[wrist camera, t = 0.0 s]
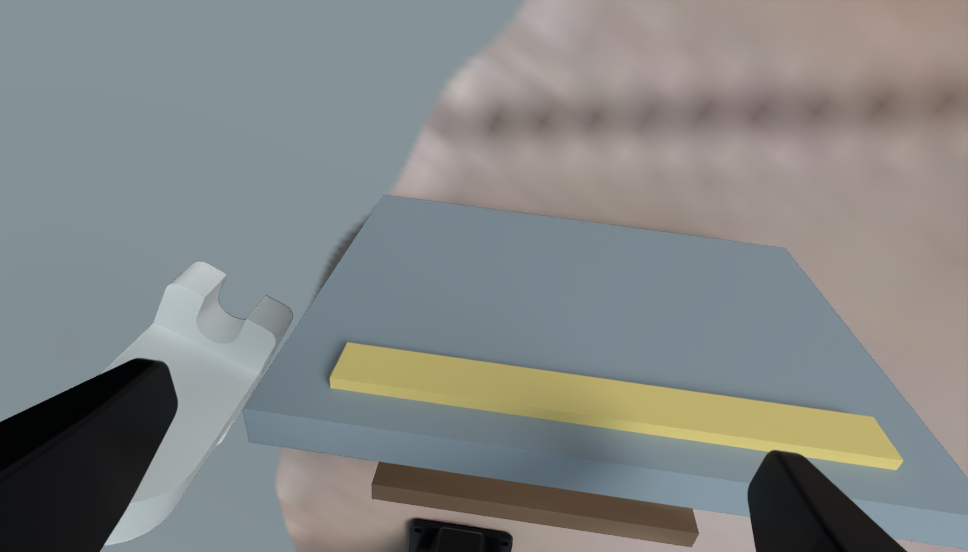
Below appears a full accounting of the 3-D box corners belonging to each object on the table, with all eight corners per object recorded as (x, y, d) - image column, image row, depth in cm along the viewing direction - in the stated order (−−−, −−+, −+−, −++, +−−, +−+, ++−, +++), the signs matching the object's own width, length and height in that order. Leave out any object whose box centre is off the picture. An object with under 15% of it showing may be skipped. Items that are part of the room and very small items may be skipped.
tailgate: (774, 270, 20) (971, 550, 11) (383, 218, 21) (249, 441, 11) (788, 240, 19) (1011, 511, 10) (383, 187, 20) (239, 397, 11)
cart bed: (684, 441, 28) (715, 550, 23) (384, 397, 29) (349, 495, 23) (766, 253, 22) (832, 345, 17) (384, 203, 22) (337, 277, 17)
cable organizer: (297, 311, 26) (177, 485, 18) (234, 423, 31) (117, 601, 23) (194, 256, 25) (14, 413, 17) (146, 381, 30) (-12, 552, 21)
